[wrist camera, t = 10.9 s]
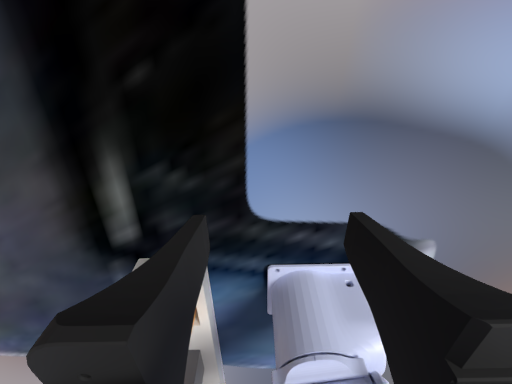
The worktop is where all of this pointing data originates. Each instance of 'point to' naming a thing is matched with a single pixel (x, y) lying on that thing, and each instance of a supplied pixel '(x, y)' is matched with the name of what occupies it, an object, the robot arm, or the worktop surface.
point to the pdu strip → (202, 340)
